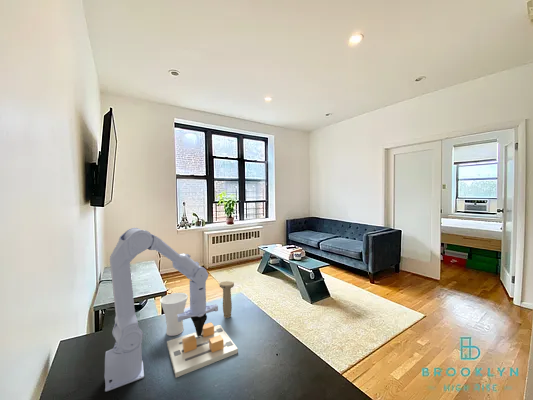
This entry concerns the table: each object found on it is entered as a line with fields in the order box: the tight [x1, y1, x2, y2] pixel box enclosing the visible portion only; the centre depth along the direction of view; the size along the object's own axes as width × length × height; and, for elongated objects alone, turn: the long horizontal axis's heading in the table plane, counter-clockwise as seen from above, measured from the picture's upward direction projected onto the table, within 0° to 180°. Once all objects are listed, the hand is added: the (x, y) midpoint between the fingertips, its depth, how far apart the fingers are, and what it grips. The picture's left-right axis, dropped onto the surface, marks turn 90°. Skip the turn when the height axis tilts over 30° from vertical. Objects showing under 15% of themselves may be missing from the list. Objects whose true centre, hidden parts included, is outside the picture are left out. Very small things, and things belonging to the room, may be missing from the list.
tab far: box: [202, 321, 215, 337], centre depth 87 cm, size 4×3×3 cm
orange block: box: [209, 335, 224, 352], centre depth 78 cm, size 4×3×3 cm
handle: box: [218, 280, 235, 319], centre depth 102 cm, size 5×6×15 cm
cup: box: [159, 292, 189, 337], centre depth 92 cm, size 10×10×14 cm
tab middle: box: [182, 335, 197, 353], centre depth 78 cm, size 4×3×3 cm
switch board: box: [166, 324, 239, 379], centre depth 80 cm, size 20×18×2 cm
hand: (198, 334), depth 85 cm, fingers closed
